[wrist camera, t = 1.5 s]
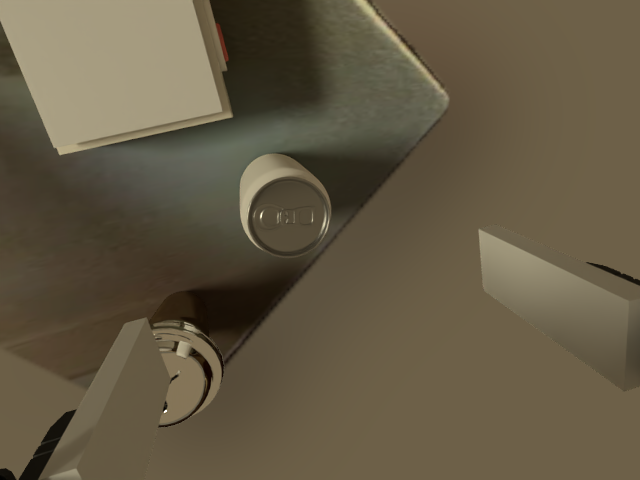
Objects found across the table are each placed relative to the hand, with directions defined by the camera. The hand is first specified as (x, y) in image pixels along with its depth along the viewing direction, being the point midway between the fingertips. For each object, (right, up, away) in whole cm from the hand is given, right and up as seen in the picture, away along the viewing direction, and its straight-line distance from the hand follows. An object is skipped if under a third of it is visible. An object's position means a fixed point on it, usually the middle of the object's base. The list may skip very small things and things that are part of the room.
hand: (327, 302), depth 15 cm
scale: (-15, +17, +17) cm, 29 cm away
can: (-5, +7, +23) cm, 24 cm away
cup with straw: (-14, -5, +25) cm, 29 cm away
